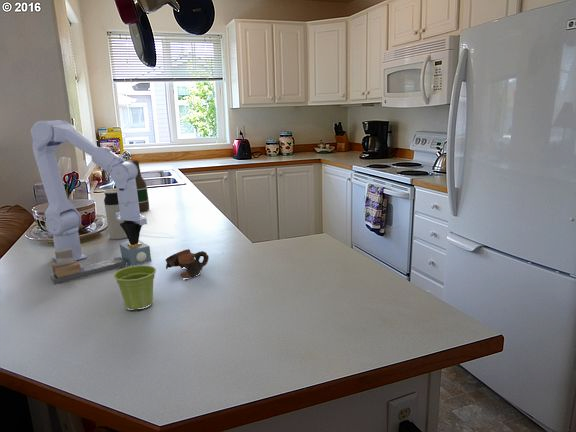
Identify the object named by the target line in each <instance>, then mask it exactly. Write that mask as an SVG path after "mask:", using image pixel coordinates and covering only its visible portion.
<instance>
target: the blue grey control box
mask: <svg viewBox="0 0 576 432" xmlns="http://www.w3.org/2000/svg"><path fill="white" fill-rule="evenodd" d="M139 243H141V246H137V247H132V248H130V247H128V244H129V241H128V242H124V243H120V244H119V248H120V253H121V256H120V257H121V258H123V259H124V260H126V263H127V264H129V265H130V266H131V265H132V266H134V265H135V266H139V265H142V264H141V263H143V264H146V263H149V261H150V262H152V255H151V247H150V245H149V244H147V243H145V242H143V241H142V240H139ZM145 262H146V263H145ZM138 264H139V265H138ZM132 266H131V267H132Z"/></svg>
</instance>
